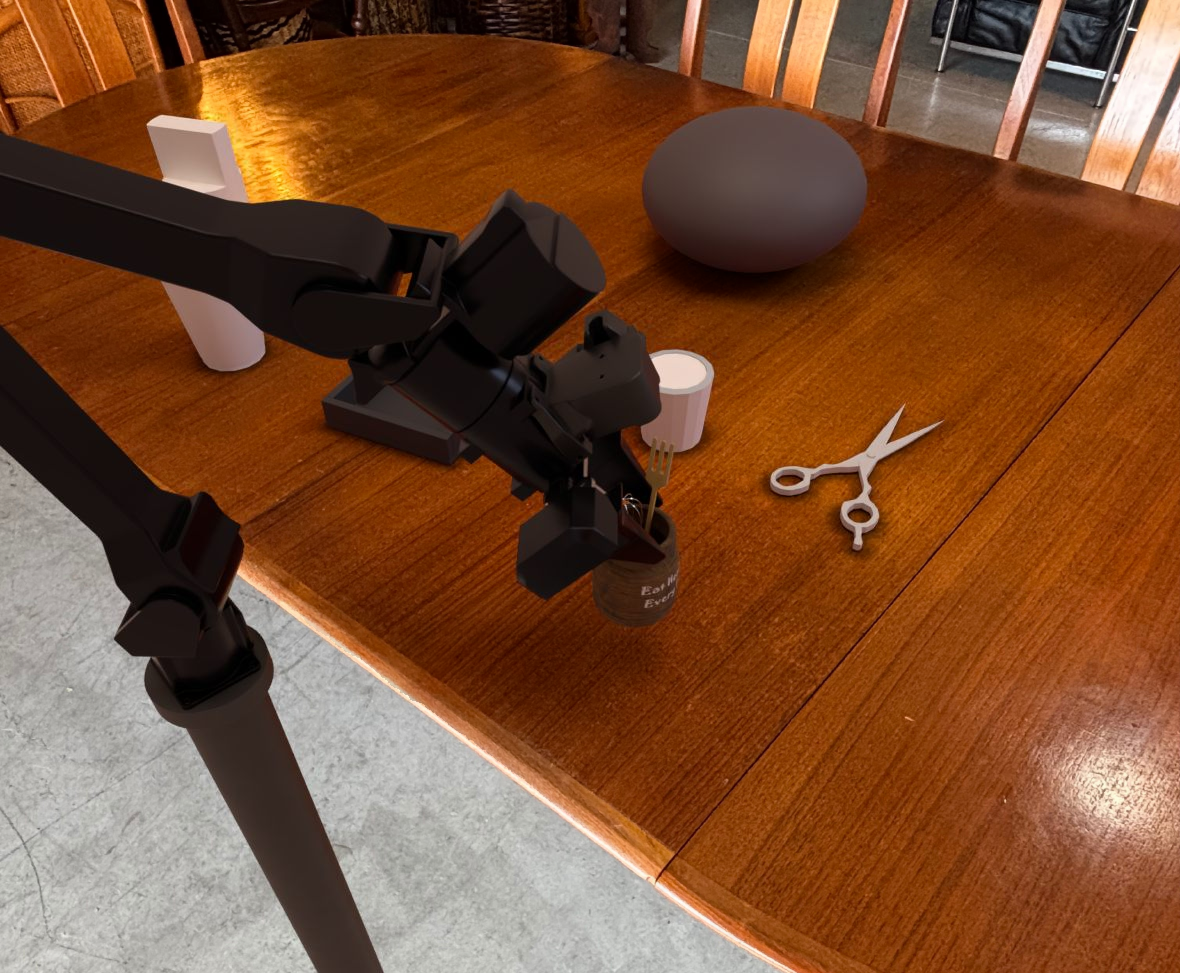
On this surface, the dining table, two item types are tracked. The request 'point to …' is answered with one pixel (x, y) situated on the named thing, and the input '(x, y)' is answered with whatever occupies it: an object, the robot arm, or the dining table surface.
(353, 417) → the baking tray
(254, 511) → the dining table surface
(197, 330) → the foam cup
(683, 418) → the shot glass
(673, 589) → the utensil holder
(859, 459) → the scissors
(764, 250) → the smooth stone
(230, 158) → the base with upright slab
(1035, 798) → the dining table surface
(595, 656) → the dining table surface
